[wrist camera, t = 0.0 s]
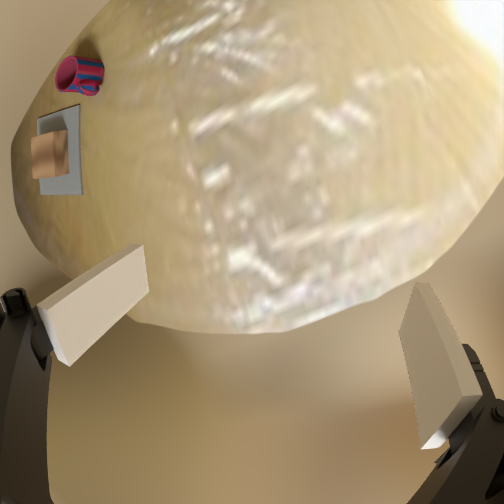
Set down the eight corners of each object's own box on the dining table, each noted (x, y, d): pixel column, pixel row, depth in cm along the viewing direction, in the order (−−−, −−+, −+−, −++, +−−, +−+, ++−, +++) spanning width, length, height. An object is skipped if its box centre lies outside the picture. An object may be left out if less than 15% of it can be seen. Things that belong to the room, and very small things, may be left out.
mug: (96, 53, 37) (71, 48, 31) (116, 84, 39) (89, 81, 32) (76, 78, 40) (51, 77, 33) (95, 111, 41) (68, 111, 35)
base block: (44, 135, 46) (31, 137, 42) (67, 129, 44) (53, 131, 40) (46, 175, 49) (33, 179, 45) (69, 173, 47) (55, 177, 43)
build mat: (38, 119, 45) (37, 119, 45) (80, 105, 41) (78, 105, 41) (42, 194, 52) (40, 194, 52) (83, 194, 48) (81, 194, 48)
